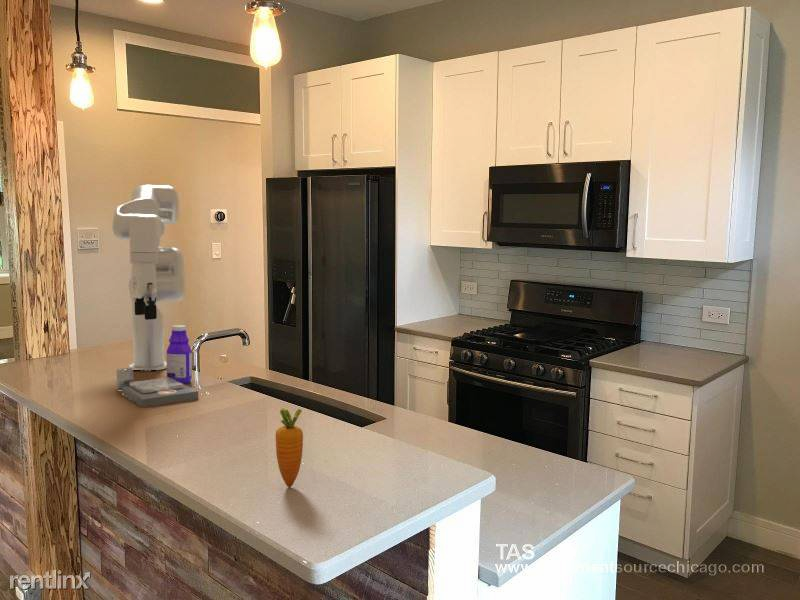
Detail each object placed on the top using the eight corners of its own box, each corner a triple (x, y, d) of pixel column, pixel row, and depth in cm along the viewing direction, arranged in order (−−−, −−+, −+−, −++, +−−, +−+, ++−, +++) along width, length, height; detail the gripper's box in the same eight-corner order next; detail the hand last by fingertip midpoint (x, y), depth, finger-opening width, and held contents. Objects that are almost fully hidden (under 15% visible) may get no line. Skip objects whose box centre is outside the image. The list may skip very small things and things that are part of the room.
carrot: (304, 482, 125) (304, 404, 124) (301, 492, 120) (301, 411, 119) (277, 482, 125) (277, 403, 123) (273, 492, 120) (273, 411, 118)
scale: (122, 394, 187) (121, 385, 187) (174, 387, 197) (174, 378, 197) (143, 407, 174) (142, 397, 174) (198, 398, 184) (198, 389, 184)
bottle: (195, 380, 205) (193, 324, 204) (187, 385, 200) (186, 327, 198) (172, 379, 206) (171, 324, 204) (164, 384, 201) (162, 326, 199)
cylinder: (115, 389, 193) (114, 369, 193) (130, 387, 196) (130, 367, 195) (119, 392, 190) (119, 371, 189) (135, 390, 193) (135, 369, 192)
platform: (129, 385, 188) (129, 382, 188) (168, 380, 195) (168, 377, 195) (143, 393, 180) (143, 389, 180) (183, 387, 187) (183, 384, 187)
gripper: (122, 256, 197) (124, 314, 200) (139, 260, 184) (141, 322, 186) (148, 256, 202) (149, 312, 204) (166, 260, 188) (168, 320, 190)
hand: (145, 316), depth 195 cm, fingers open, 9 cm apart
